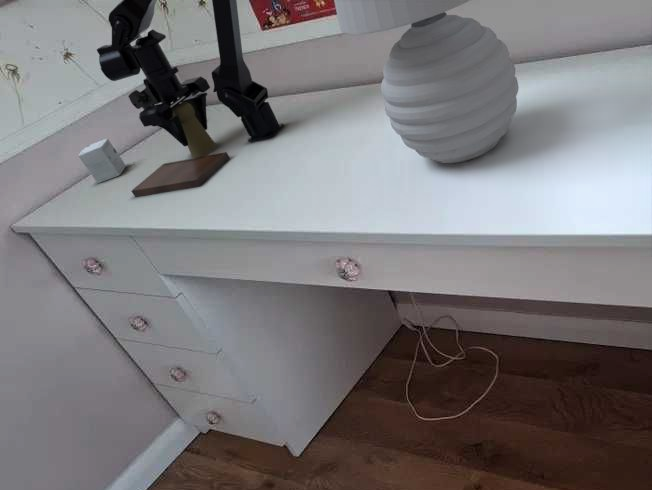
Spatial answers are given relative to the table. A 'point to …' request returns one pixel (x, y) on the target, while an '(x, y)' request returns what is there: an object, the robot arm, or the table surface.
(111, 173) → the white cardboard box
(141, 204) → the table surface
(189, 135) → the olive yellow pawn
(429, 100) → the table lamp
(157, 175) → the walnut board
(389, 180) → the table surface
